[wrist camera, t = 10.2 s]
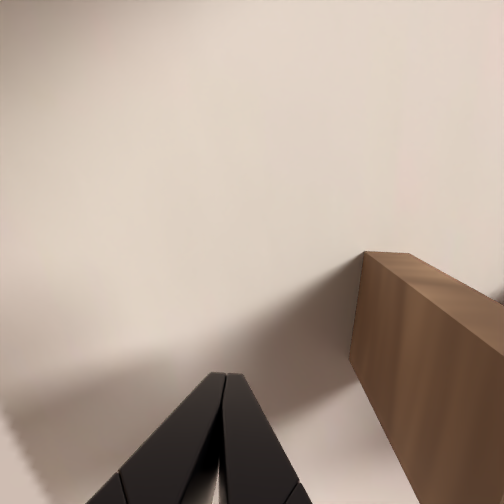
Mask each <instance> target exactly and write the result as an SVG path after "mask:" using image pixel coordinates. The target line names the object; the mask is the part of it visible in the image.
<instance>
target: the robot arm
mask: <svg viewBox="0 0 504 504" xmlns="http://www.w3.org/2000/svg"><path fill="white" fill-rule="evenodd" d="M218 469H219V504H312V502H311V500H310V498H309V496H308V494H307V493H306V491H305V489H304V487H303V485H302V483H299V482H300V481H299V478H298V476H297V474H296V472H295V471H294V469H293V467H292V465H291V463H290V461H289V459H288V457H287V456H286V454H285V452H284V450H283V448H282V446H281V444H280V442H279V441H278V439H277V437H276V435H275V433H274V431H273V429H272V427H271V426H270V424H269V422H268V420H267V418H266V416H265V414H264V413H263V411H262V409H261V407H260V405H259V403H258V401H257V399H256V398H255V396H254V394H253V392H252V390H251V388H250V386H249V384H248V383H247V381H246V379H245V377H244V375H243V374H238V373H228V374H227V376H226V374H225V373H220V372H211V373H209V374H208V375H207V376H206V377H205V378H204V379H203V380H202V381H201V383H200V384H199V385H198V386H197V387H196V388H195V389H194V390H193V391H192V392H191V393H190V394H189V395H188V396H187V397H186V398H185V400H184V401H183V402H182V403H181V404H180V405H179V406H178V407H177V408H176V409H175V410H174V411H173V412H172V413H171V414H170V415H169V417H168V418H167V419H166V420H165V421H164V422H163V423H162V424H161V425H160V426H159V427H158V428H157V429H156V430H155V431H154V432H153V434H152V435H151V436H150V437H149V438H148V439H147V440H146V441H145V442H144V443H143V444H142V445H141V446H140V447H139V448H138V449H137V451H136V452H135V453H134V454H133V455H132V456H131V457H130V458H129V459H128V460H127V461H126V462H125V463H124V464H123V465H122V466H121V468H120V469H119V470H118V473H115V474H114V475H113V476H112V477H111V478H110V479H109V480H108V481H107V482H106V483H105V484H104V485H103V486H102V487H101V489H100V490H99V491H98V492H97V493H96V494H95V495H94V496H93V497H92V498H91V499H90V500H89V501H88V502H87V503H86V504H212V500H213V495H214V490H215V486H216V481H217V475H218Z"/></svg>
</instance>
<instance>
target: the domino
mask: <svg viewBox="0 0 504 504" xmlns="http://www.w3.org/2000/svg"><path fill="white" fill-rule="evenodd" d="M349 361H350V363H351V365H352V367H353V369H354V371H355V373H356V375H357V377H358V379H359V381H360V383H361V385H362V387H363V389H364V391H365V393H366V395H367V397H368V399H369V401H370V403H371V405H372V407H373V409H374V411H375V413H376V415H377V418H378V420H379V422H380V424H381V426H382V428H383V430H384V432H385V434H386V436H387V438H388V440H389V442H390V444H391V446H392V448H393V450H394V452H395V454H396V456H397V458H398V460H399V462H400V464H401V466H402V468H403V470H404V472H405V474H406V476H407V478H408V480H409V482H410V484H411V487H412V489H413V491H414V493H415V495H416V497H417V499H418V501H419V503H420V504H504V305H502V304H500V303H498V302H496V301H495V300H493V299H491V298H489V297H487V296H485V295H484V294H482V293H480V292H478V291H476V290H475V289H473V288H471V287H469V286H467V285H466V284H464V283H462V282H460V281H458V280H456V279H455V278H453V277H451V276H449V275H447V274H446V273H444V272H442V271H440V270H438V269H436V268H435V267H433V266H431V265H429V264H427V263H426V262H424V261H422V260H420V259H418V258H416V257H415V256H413V255H411V254H409V253H391V252H370V251H365V252H364V258H363V265H362V272H361V279H360V286H359V293H358V300H357V306H356V313H355V320H354V327H353V334H352V341H351V348H350V354H349Z"/></svg>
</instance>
